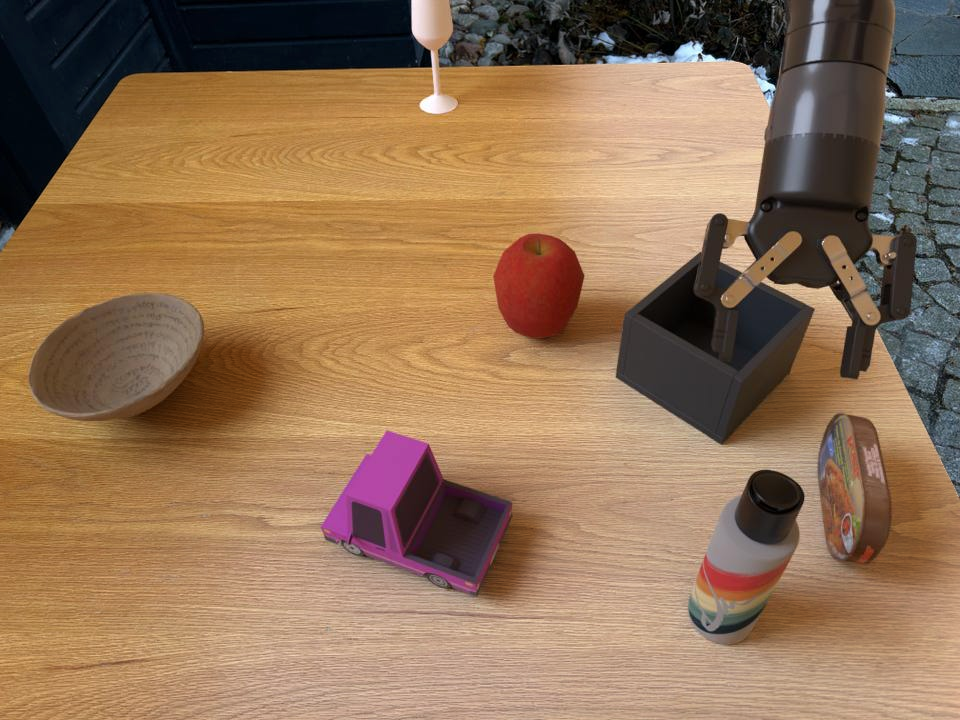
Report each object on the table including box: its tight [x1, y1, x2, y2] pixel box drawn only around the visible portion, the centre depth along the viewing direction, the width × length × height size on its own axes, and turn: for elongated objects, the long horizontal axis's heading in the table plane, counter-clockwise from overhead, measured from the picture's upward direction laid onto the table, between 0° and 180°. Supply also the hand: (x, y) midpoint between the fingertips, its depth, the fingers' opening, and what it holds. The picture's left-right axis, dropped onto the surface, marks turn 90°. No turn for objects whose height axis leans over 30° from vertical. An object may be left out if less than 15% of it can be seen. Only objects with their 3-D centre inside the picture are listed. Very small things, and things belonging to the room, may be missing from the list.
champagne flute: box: [411, 0, 458, 115], centre depth 122 cm, size 7×7×24 cm
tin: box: [817, 412, 893, 565], centre depth 69 cm, size 15×3×8 cm, turn 168°
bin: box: [615, 251, 816, 445], centre depth 81 cm, size 14×14×10 cm
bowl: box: [27, 292, 205, 422], centre depth 83 cm, size 18×18×8 cm
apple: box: [492, 232, 585, 339], centre depth 86 cm, size 10×10×14 cm
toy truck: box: [320, 430, 513, 598], centre depth 69 cm, size 11×16×10 cm
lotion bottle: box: [687, 469, 806, 645], centre depth 58 cm, size 6×6×20 cm
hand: (786, 369), depth 54 cm, fingers open, 8 cm apart
